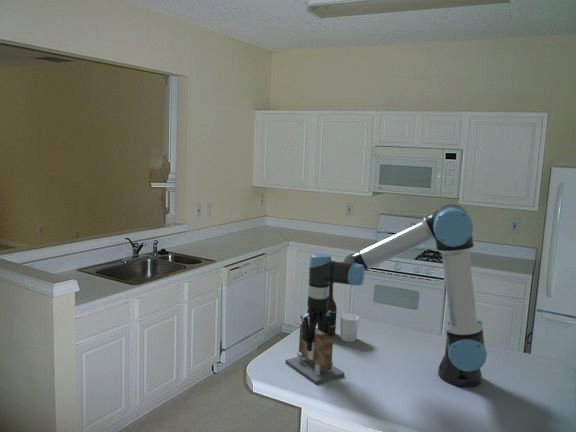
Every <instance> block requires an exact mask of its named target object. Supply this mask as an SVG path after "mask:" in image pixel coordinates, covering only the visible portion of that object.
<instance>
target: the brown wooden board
mask: <svg viewBox="0 0 576 432" xmlns="http://www.w3.org/2000/svg"><path fill="white" fill-rule="evenodd" d="M298 341H299V342H298V353H299V352H301V353H302V354H303V356H302V357H304V358H305V359H307V360H308V361H310V362H311V363H313V364H314V365H315V364H319V365H321V367H320V369H322V370H323V371H328V370H331V366H332V362H333V349H334V348H333V347H334V346H333V345H334V337H333V336H332V337H331V336H329V335H328V334H326V333H324V332H322V331H320V330H319V329H318V327H316V328H315V333H314V339H313V342H314V343H315V346H314V360H311V359H309V358H308V350H307V342H305V341H304V340H303V337H302V323H300V324H299V339H298Z"/></svg>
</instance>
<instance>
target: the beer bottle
mask: <svg viewBox="0 0 576 432" xmlns="http://www.w3.org/2000/svg"><path fill="white" fill-rule="evenodd" d="M334 285H335V284H334V282H330V283H329V296H328V298H329V300H328V307H327V309H328V310H329V311H331V312H333V316H332V318H331V325H330V332H329V336H331V337H333V336H335V334H336V326H337V311H338V310H337V309H338V308H337V305H336V301H335V300H334Z"/></svg>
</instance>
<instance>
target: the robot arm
mask: <svg viewBox="0 0 576 432" xmlns="http://www.w3.org/2000/svg"><path fill="white" fill-rule="evenodd" d="M471 218H472V217H470V215H469V213H468V212H467V211H466V210H465V209H464V208H463V207H462V206H460V205H457V204H446V205H443V206H441V207H439V208H438V209H437V210H434V212H431V213H430V214H428V215H425V216H424V217H423V218H422V221H420V222H418V223H415V224H414V225H410V226H408V227H407V228H405V229H403V230H401V231H399V232H395V234H393V235H390V236H387V237H386V238H384V239H382V240H380V241H377V242H375V243H374V244H372V245H369V246H368V247H365V248H363V249H361V250H360V251H357V252H355V253H350V254H349V255H347V256H346V257H345V258H344V259H343V261H336V260H335V261H334V260H332V256H331V255H330V254H327V253H320V252H317V253H313V254H311V255H310V258H309V259H310V260H309V266H308V276H309V277H308V290H307V295H308V296H307V311H306V313H305V314H304V315H303V314H301V315H300V320H301V324H302V337H303V340H304V341H305V342H307V350H308V358H309V359H311V360H314V346H315V343H314V342H313V339H314V333H315V328H317V329H319V330H320V331H322V332H324V333H326V334H328V335H329V332H330V325H331V318H332V316H333V312H331V311H329V310H328V309H327V307H328V300H329V298H328V296H329V283H330V282H333V283H336V284H342V285H350V286H361V285H363V283H364V280H365V272H366V271H367V270H369V269H371V268H374V267H376V266H379V265H381V264H382V263H384V262H387V261H390V260H392V259H394V258H396V257H398V256H401V255H403V254H404V253H407V252H408V251H411V250H413V249H416V248H417V247H419V246H422V245H424V244H426V243H429V242H431V241H434V242H435V247H436V250H437V252H438V253H440V254H441V257H442V265H443V266H442V267H443V276H444V284H445V292H446V301H447V309H448V319H447V323H446V324H447V325H446V326H445V330H446V331H445V332H446V333H445V334H446V340H445V351H444V355H443V357H442V359H441V361H440V364H439V366H438V370H437V375H438V376H439V377H440V379H442V380H443V381H444V382H446V383H448V384H451V385H454V386H458V387H464V388H473V387H477V386H479V385H481V384H482V379H483V374H482V371H481V368H482V367H483V366H484V365H485V363H486V361H487V356H488V355H487V354H488V353H487V349H486V346H485V339H484V330H483V329H484V327H483V321H482V319H480V318H478V317H477V309H476V300H475V299H476V298H475V292H474V290H475V289H474V283H473V274H472V273H473V272H472V266H471V256H470V255H471V254H470V252H471V251H472V249H473V248H474V238H473V237H474V236H473V233H474V230H473V229H474V224H473V221H472V219H471ZM316 326H317V327H316Z"/></svg>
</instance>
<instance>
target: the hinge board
mask: <svg viewBox="0 0 576 432" xmlns="http://www.w3.org/2000/svg"><path fill="white" fill-rule="evenodd" d="M296 354H297V356H296V357H292V358H289V359H288V358H287V359H285V364H286V365H287V366H289V367H290V368H291V369H293V370H295V371H296V372H297V373H298V374H300V375H302V376H303V377H305V378H306V379H307V380H309V381H310V382H311V383H312V384H314V385H319V384H322V383H324V382H328V381H332V380H335V379H339V378H343V377H345V372H344V371H342V370H341V369H340V368H337V367H336V366H334V365H333V364H334V361H332V366H331V370H328V371H323V370H322V369H320V367H321V365H319V364H315V365H314V364H313V363H311V362H310V361H308V360H307V359H305V358H304V357H302V356H303V354H302V353H301V352H299V351H298V352H297V353H296Z"/></svg>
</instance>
